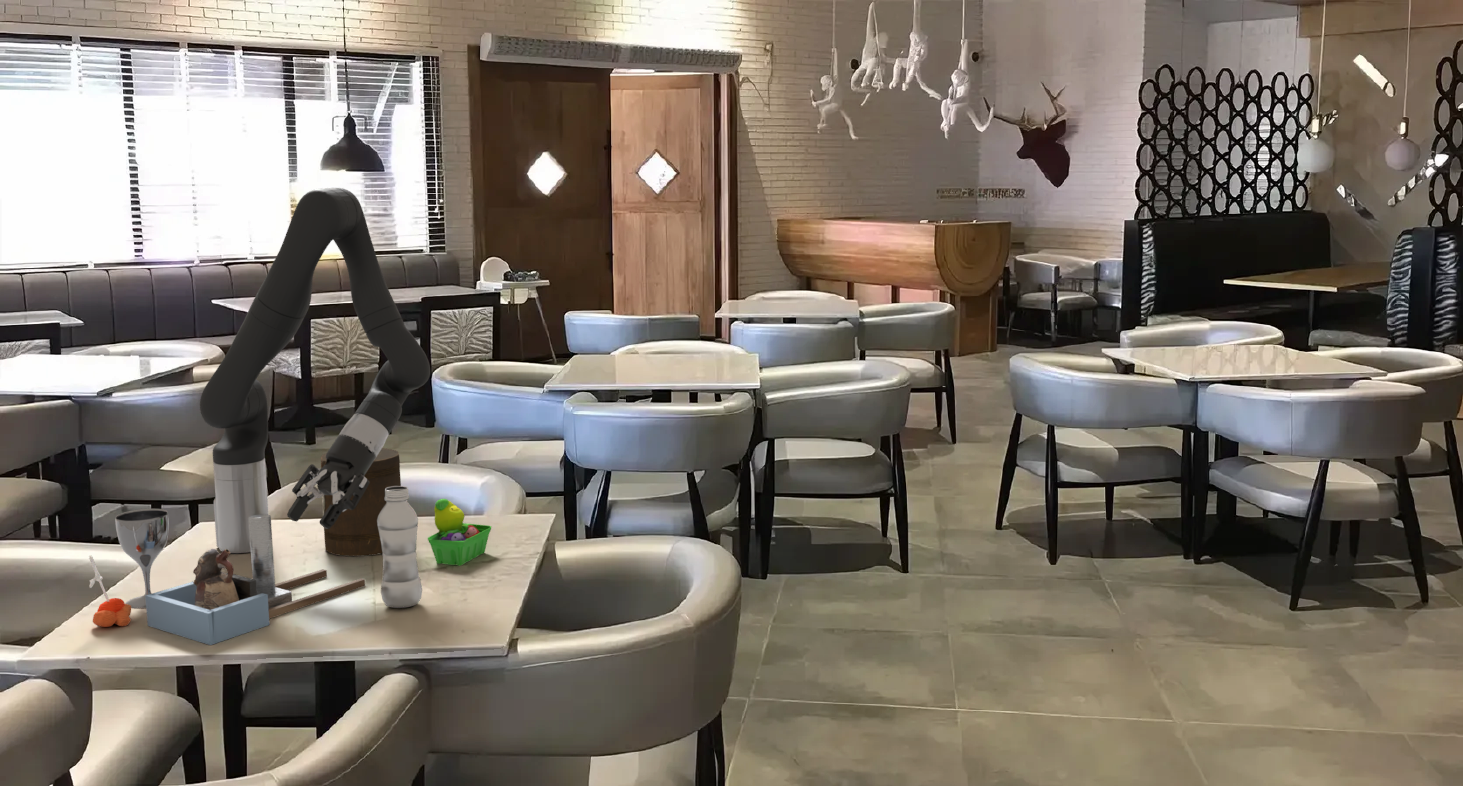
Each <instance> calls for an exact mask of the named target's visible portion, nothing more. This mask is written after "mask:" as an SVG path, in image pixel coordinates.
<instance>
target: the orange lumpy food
mask: <svg viewBox="0 0 1463 786" xmlns="http://www.w3.org/2000/svg"><path fill="white" fill-rule="evenodd" d="M88 557H89V558H88V559H89V562H90V564H91V566H92V569H93V571H94V577H93V578H92V579H89V586H88V587H89V589H92V587H93V586H94V585H95V583H96V582H99V586H100V588H101V590H102V592H103V593H102V594H104V597H105V599H106V600H105V601H104V602H102V603H101V604H99V606H98V608H97V611H96V612H94V614H93V617H92V623H93V624H94V625H95V626H99V627H103V628H108V627H109V628H110V627H113V625H114V624H115V625H117V626H119V627H126V626H128V625H129V624H130V623H131V621H132V619H131V618H130V616H131V614H132V608H131V605H128V604H125V603H126V602H125V601H124V600H123V599H121V598H119V597H113V598H109V596H108V594H107V592H106V589H105V587H104V584H103V581H102V580H103V579H104V578H103V576H101V574H100V572H99V570H98V568H97V567H98V566H97V565H96V562H95V560H94V557H93V556H92V555H89V556H88Z"/></svg>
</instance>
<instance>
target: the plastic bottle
mask: <svg viewBox="0 0 1463 786" xmlns="http://www.w3.org/2000/svg"><path fill="white" fill-rule="evenodd" d="M384 499H385V501H386V505H385V506H384V507H383V509H382V510H381V512H380V514H379V515H378V519H377V525H378V530H379V535H380V540H381V545H382V552H383V553H381V554H382V580H381V583H380V584H381V586H380V594H381V595H380V596H381V599H382V602H383V603H384V605H386V607H389V608H396V609H401V608H402V609H403V608H404V609H405V608H409V607H413V606H416V605H417V604H419V603H420V600H421V599H422V594H423V587H422V581H421V578H420V574H419V566H418V559H417V537H418V529H419V528H418V525H419V518H418V515H417V512H416V511H415V509H414V508H413V507H412V506H411V505H410V503H409V502H408V500H410V495H409V487H408V486H404V485H401V486H393V487H388V488H386V489H385V497H384Z"/></svg>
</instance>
